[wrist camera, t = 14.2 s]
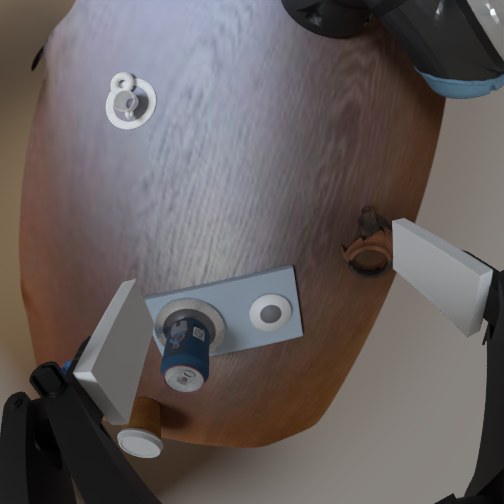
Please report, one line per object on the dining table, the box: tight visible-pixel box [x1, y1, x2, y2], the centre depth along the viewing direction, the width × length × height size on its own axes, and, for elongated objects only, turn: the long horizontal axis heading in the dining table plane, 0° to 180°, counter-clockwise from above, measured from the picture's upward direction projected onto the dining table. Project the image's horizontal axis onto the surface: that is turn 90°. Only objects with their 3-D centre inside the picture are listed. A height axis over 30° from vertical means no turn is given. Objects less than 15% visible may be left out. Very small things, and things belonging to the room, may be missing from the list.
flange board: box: [144, 265, 303, 356], centre depth 50 cm, size 26×14×2 cm, turn 101°
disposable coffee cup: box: [118, 397, 163, 458], centre depth 52 cm, size 10×10×12 cm
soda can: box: [161, 318, 210, 394], centre depth 43 cm, size 7×7×12 cm
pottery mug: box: [341, 206, 393, 278], centre depth 46 cm, size 12×10×8 cm
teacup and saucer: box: [106, 72, 156, 129], centre depth 36 cm, size 9×8×4 cm
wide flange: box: [155, 298, 225, 354], centre depth 49 cm, size 12×12×1 cm
